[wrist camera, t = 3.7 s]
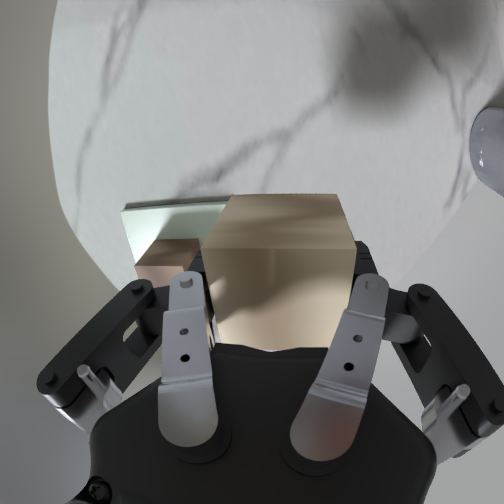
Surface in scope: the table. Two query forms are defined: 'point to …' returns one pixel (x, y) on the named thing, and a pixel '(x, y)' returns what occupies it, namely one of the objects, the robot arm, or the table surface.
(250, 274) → the cube maple
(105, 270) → the table surface
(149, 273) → the cube walnut
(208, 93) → the table surface
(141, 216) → the build plate
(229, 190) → the table surface
